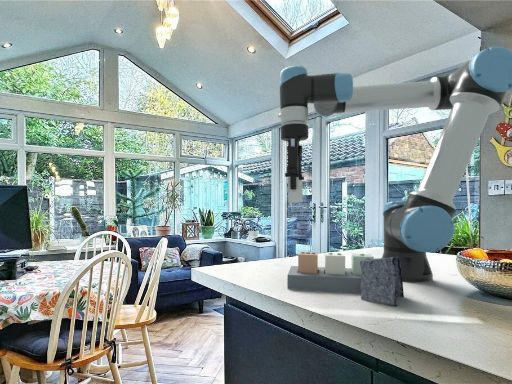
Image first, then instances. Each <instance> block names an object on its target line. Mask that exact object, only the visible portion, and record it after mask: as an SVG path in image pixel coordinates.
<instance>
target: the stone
mask: <svg viewBox="0 0 512 384" xmlns="http://www.w3.org/2000/svg"><path fill="white" fill-rule="evenodd" d="M399 258H400V257H390V258H382V257H379V258H374V259H372V258H366V259H364V260H361V261H360V266H361V271H362V275H361V290H362V293H361V295H360V299H361V300H362V301H366V302H372V303H377V304H381V305H385V306H391V307H398V305H397V297H400V298H405V293H404V283H403V282H404V281H402V271H401V263H400V259H399Z"/></svg>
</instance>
